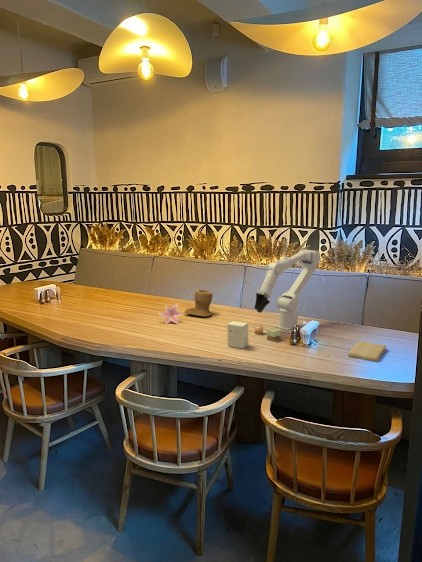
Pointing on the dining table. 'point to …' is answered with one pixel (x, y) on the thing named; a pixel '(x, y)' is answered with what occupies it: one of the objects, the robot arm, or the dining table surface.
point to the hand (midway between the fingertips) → (257, 310)
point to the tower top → (273, 332)
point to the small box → (237, 334)
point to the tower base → (273, 338)
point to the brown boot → (201, 304)
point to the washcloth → (367, 351)
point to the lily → (171, 313)
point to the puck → (258, 330)
